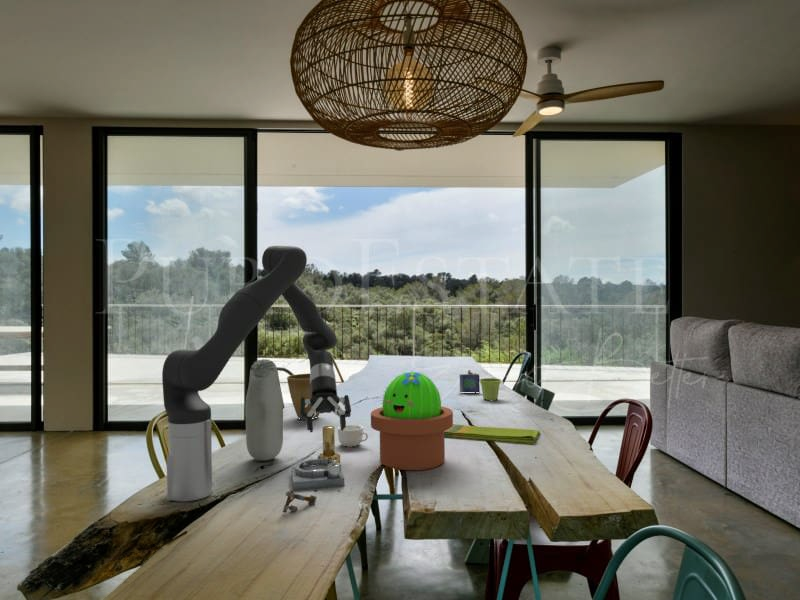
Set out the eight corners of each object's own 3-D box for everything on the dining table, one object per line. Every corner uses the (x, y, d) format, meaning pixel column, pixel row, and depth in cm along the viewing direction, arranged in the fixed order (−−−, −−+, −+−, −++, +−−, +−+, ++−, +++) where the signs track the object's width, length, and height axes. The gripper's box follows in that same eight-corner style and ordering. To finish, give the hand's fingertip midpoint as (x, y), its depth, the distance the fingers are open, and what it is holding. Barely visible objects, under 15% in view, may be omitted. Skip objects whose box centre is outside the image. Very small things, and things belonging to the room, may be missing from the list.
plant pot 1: (323, 412, 214) (323, 372, 214) (331, 420, 200) (330, 377, 200) (285, 415, 210) (284, 374, 210) (290, 424, 195) (289, 379, 195)
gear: (318, 468, 143) (318, 430, 143) (317, 461, 149) (316, 425, 149) (341, 466, 145) (340, 428, 145) (338, 460, 150) (338, 424, 150)
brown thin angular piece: (277, 510, 113) (284, 488, 114) (305, 515, 118) (311, 494, 120) (282, 512, 112) (290, 490, 113) (310, 517, 117) (317, 496, 119)
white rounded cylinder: (243, 457, 154) (242, 358, 154) (280, 452, 158) (278, 356, 158) (248, 467, 145) (247, 362, 145) (286, 462, 149) (285, 360, 149)
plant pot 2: (503, 401, 232) (502, 381, 232) (481, 401, 232) (480, 381, 232) (499, 397, 242) (499, 378, 242) (478, 397, 242) (478, 378, 242)
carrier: (293, 490, 127) (292, 466, 127) (291, 472, 140) (291, 450, 140) (344, 485, 130) (344, 462, 130) (338, 468, 143) (338, 447, 143)
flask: (459, 393, 253) (459, 370, 253) (459, 392, 256) (459, 369, 256) (479, 393, 252) (479, 370, 252) (479, 392, 255) (479, 369, 255)
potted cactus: (395, 446, 163) (394, 363, 163) (464, 455, 153) (463, 367, 153) (356, 467, 144) (355, 372, 144) (432, 479, 134) (431, 377, 134)
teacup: (332, 446, 164) (332, 429, 164) (346, 440, 171) (346, 423, 171) (360, 450, 160) (360, 432, 160) (374, 444, 166) (373, 426, 166)
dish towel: (435, 426, 191) (435, 417, 191) (540, 434, 178) (540, 424, 178) (421, 437, 177) (421, 427, 177) (533, 446, 164) (533, 436, 164)
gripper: (298, 375, 157) (301, 424, 146) (347, 373, 161) (353, 420, 149) (298, 391, 163) (300, 438, 151) (345, 388, 166) (351, 435, 155)
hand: (327, 429), depth 150 cm, fingers open, 8 cm apart
